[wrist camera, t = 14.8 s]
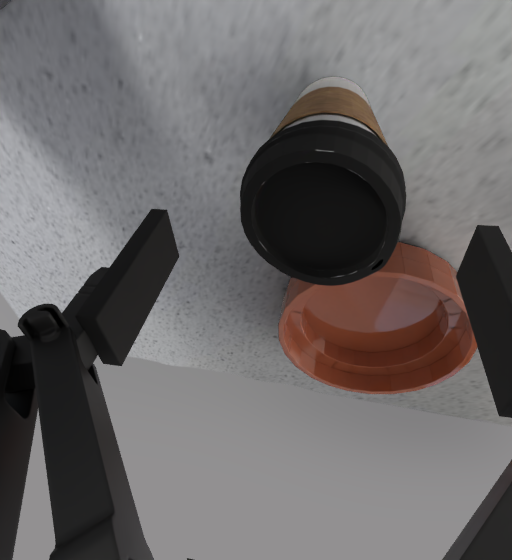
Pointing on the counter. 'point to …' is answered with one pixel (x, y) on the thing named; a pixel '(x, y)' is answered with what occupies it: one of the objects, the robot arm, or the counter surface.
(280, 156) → the coffee cup
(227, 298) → the counter surface
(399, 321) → the bowl
